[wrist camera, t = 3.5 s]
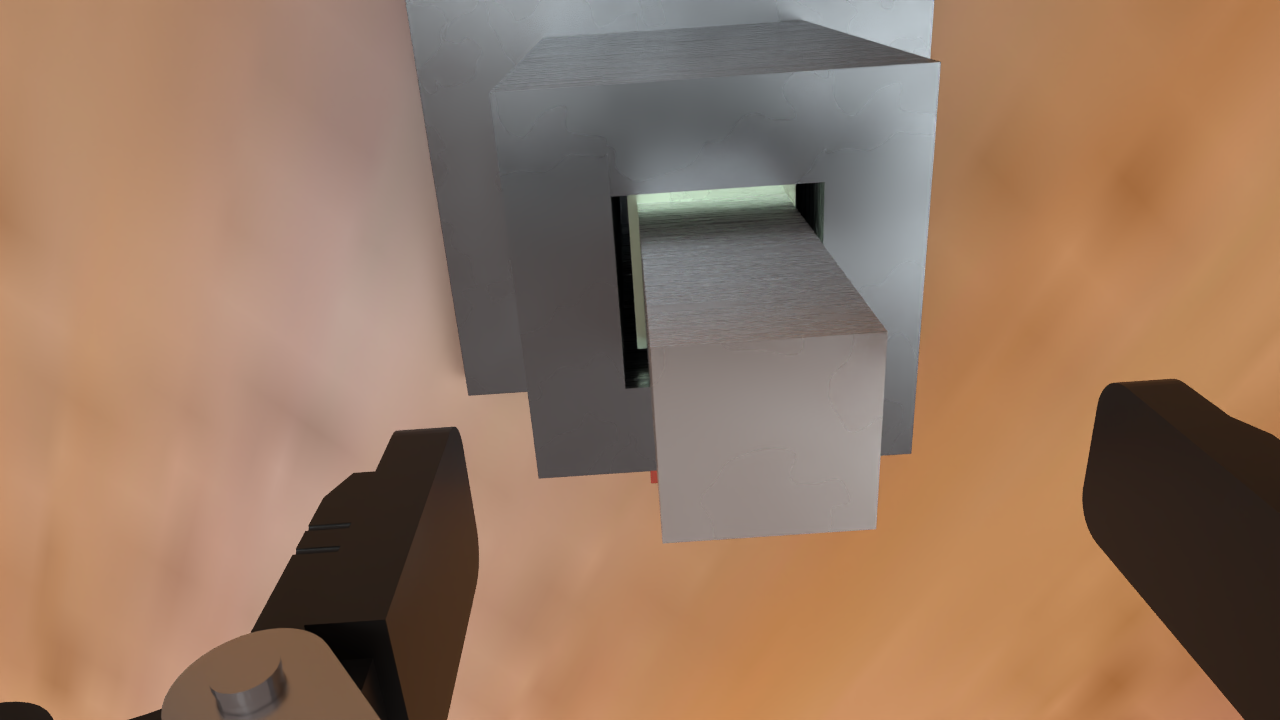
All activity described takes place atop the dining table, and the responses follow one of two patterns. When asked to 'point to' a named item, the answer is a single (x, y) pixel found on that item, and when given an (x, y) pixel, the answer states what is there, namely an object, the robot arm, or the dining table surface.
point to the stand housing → (662, 179)
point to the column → (754, 368)
